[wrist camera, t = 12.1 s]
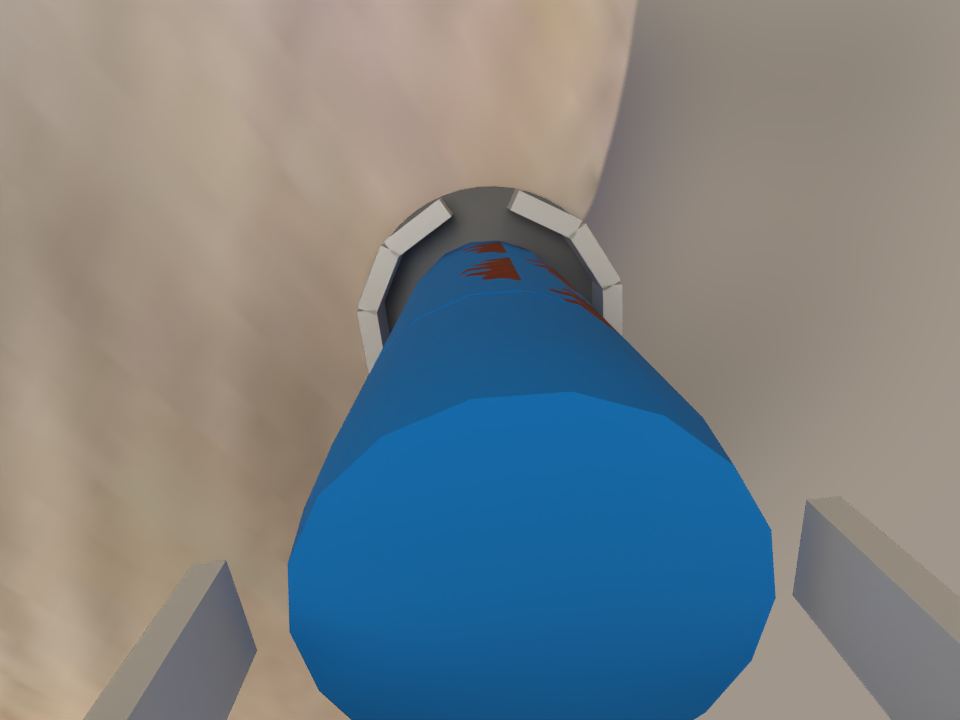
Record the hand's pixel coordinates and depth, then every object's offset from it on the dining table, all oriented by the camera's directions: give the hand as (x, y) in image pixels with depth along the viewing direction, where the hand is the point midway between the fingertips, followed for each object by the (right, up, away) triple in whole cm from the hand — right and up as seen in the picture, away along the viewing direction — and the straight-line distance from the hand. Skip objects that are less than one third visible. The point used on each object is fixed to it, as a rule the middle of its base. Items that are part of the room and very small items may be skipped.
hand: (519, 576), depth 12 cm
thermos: (0, +8, +23) cm, 24 cm away
